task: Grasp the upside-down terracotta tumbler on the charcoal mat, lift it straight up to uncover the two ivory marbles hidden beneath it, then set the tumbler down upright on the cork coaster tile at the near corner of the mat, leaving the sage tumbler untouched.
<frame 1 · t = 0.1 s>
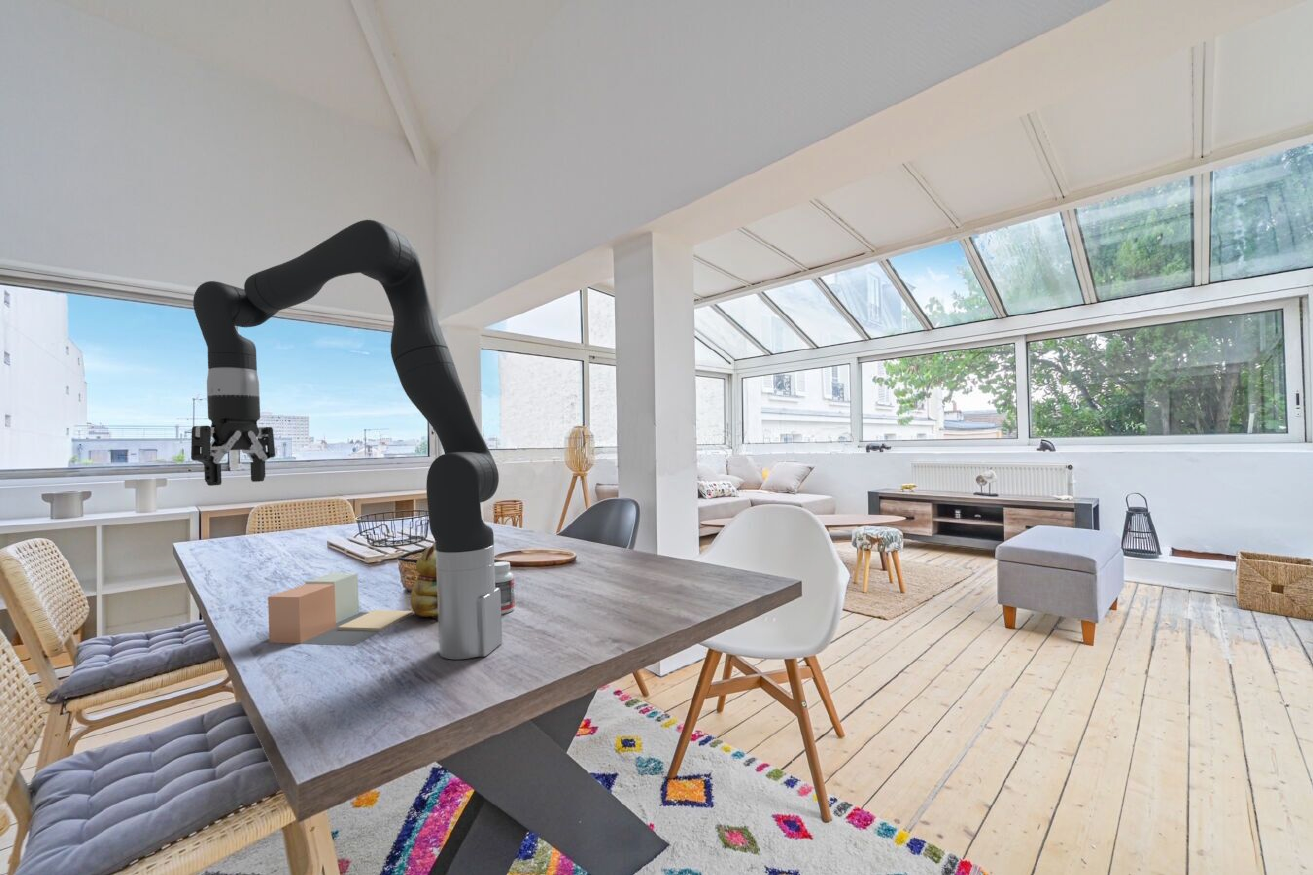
hand: (237, 483, 98), 29 cm above the table, fingers open, 8 cm apart
mat: (342, 629, 102), on the table
tumbler sage: (333, 617, 108), resting on mat
marble 3: (333, 610, 108), in the tumbler sage, touching mat
pill bottle: (501, 611, 110), on the table
decorative figurine: (432, 616, 109), on the table
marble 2: (312, 630, 101), resting on mat
tumbler terracotta: (304, 634, 99), resting on mat
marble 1: (295, 638, 97), resting on mat
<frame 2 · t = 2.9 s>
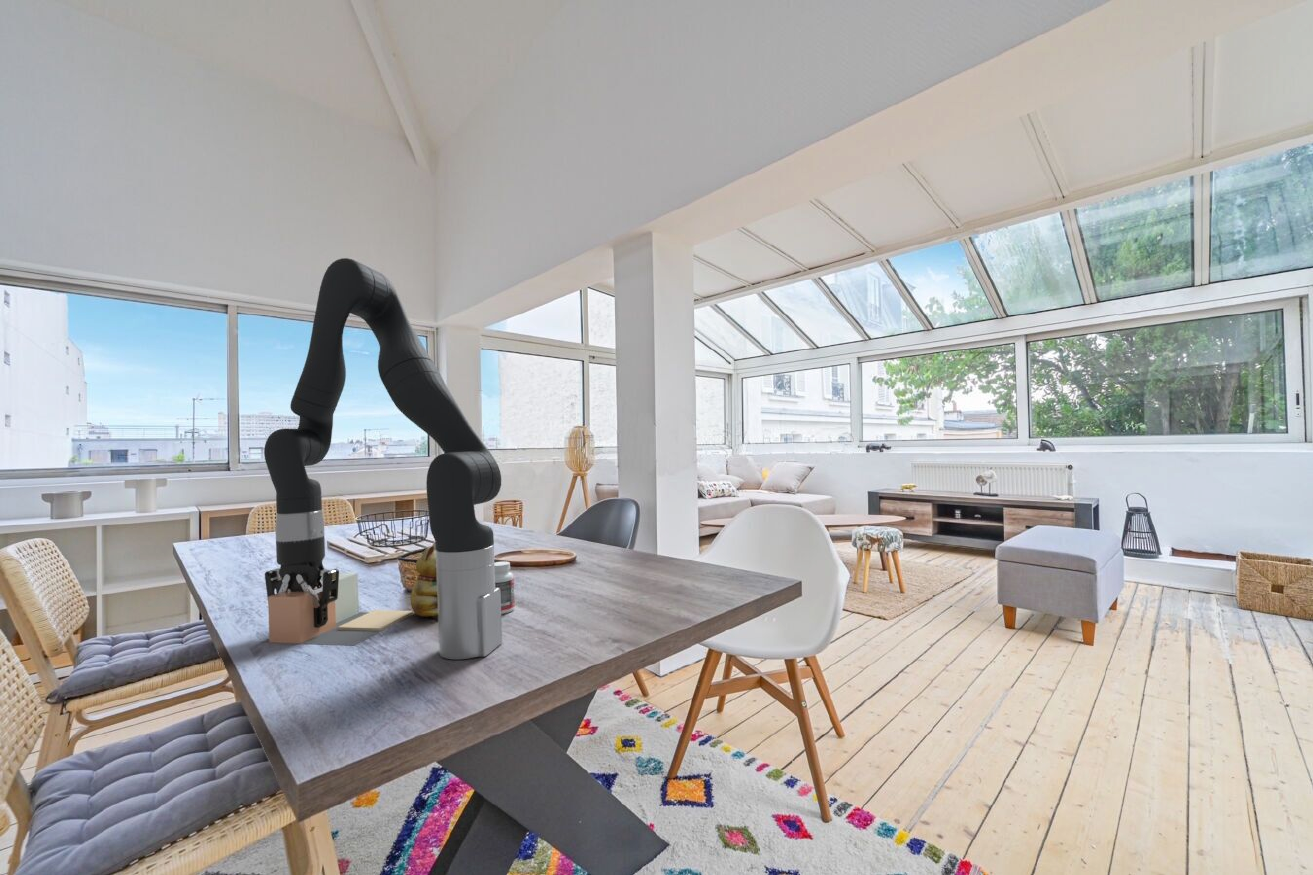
hand: (303, 625, 99), 2 cm above the table, fingers closed on tumbler terracotta, 6 cm apart
tumbler terracotta: (304, 634, 99), resting on mat, touching gripper
everything else where it was.
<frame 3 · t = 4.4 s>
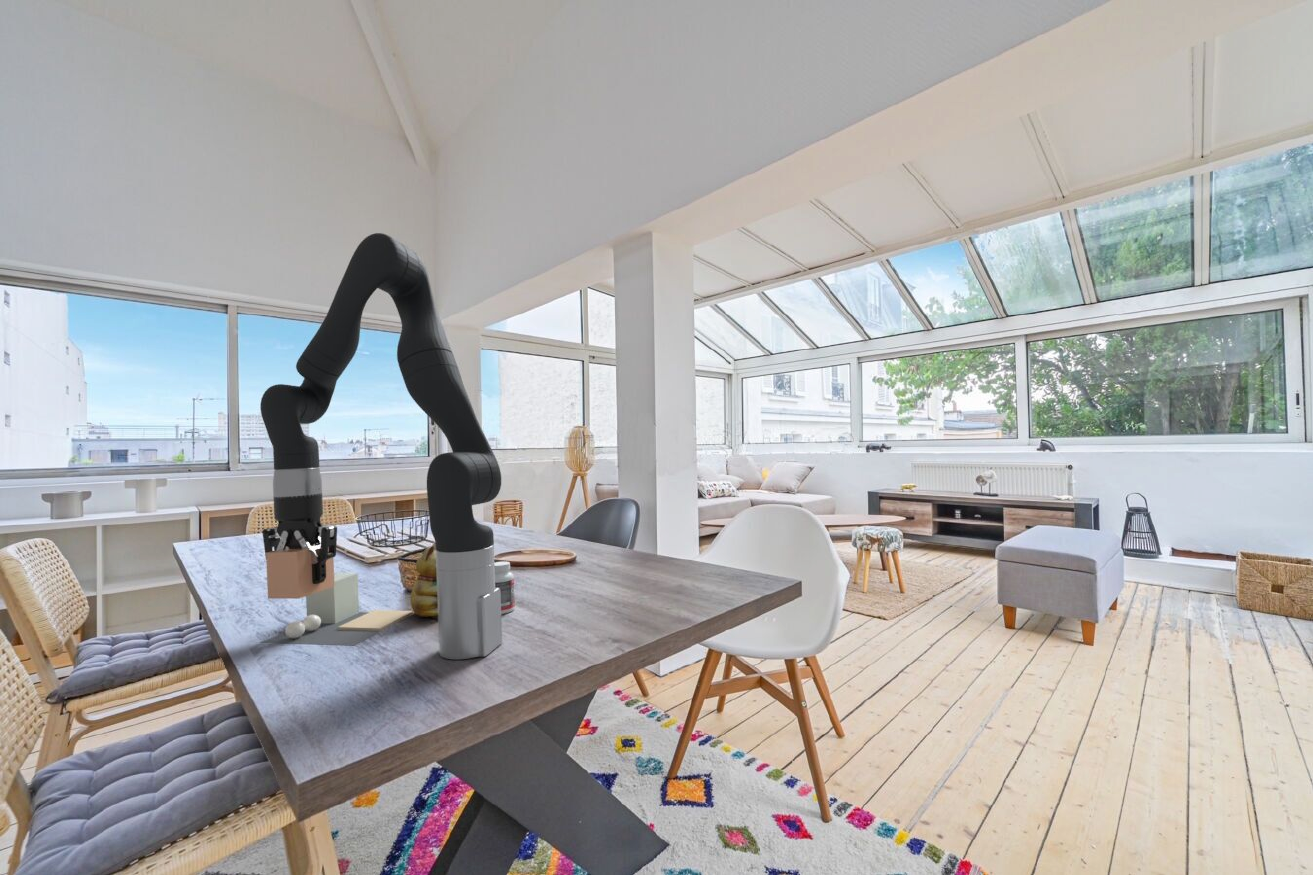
hand: (302, 582, 99), 10 cm above the table, fingers closed on tumbler terracotta, 6 cm apart
tumbler terracotta: (302, 592, 99), point 8 cm above the table, touching gripper
everything else where it was.
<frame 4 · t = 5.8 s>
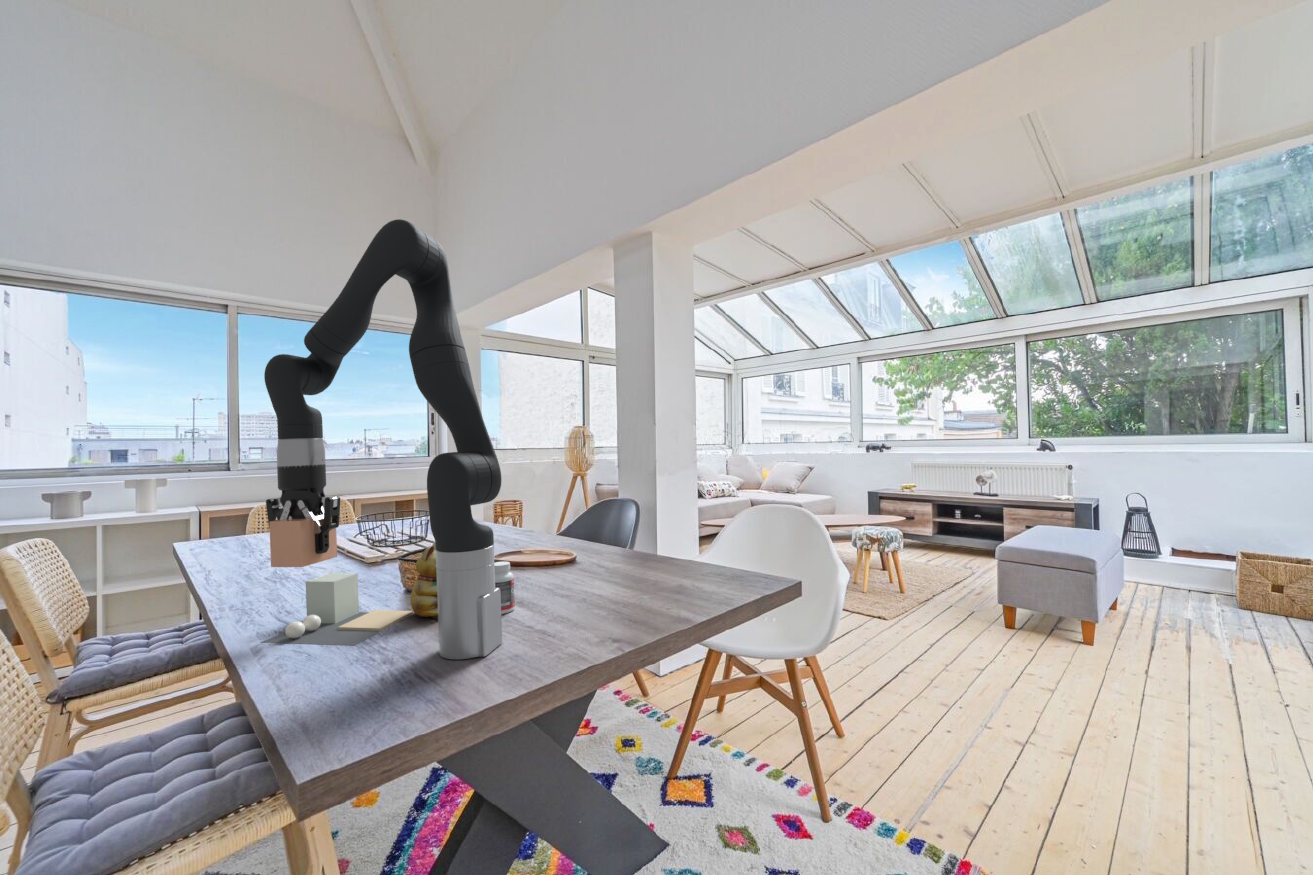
hand: (305, 553, 99), 15 cm above the table, fingers closed on tumbler terracotta, 6 cm apart
tumbler terracotta: (305, 561, 99), point 14 cm above the table, touching gripper
everything else where it was.
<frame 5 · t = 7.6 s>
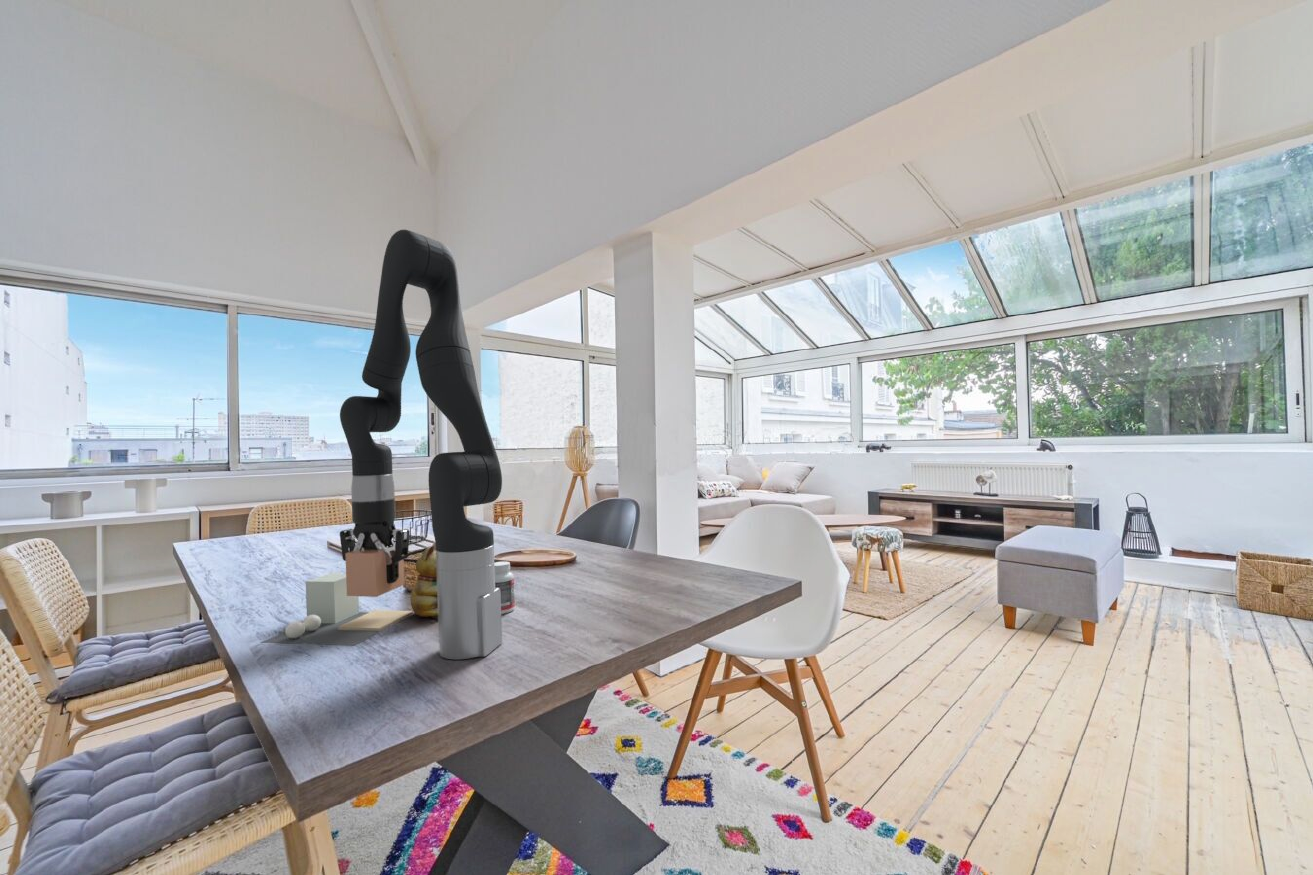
hand: (376, 581, 105), 8 cm above the table, fingers closed on tumbler terracotta, 6 cm apart
tumbler terracotta: (376, 590, 105), point 6 cm above the table, touching gripper
everything else where it was.
when the fingers open (4 cm above the table, at t = 8.8 s): tumbler terracotta drops 1 cm, resting on mat.
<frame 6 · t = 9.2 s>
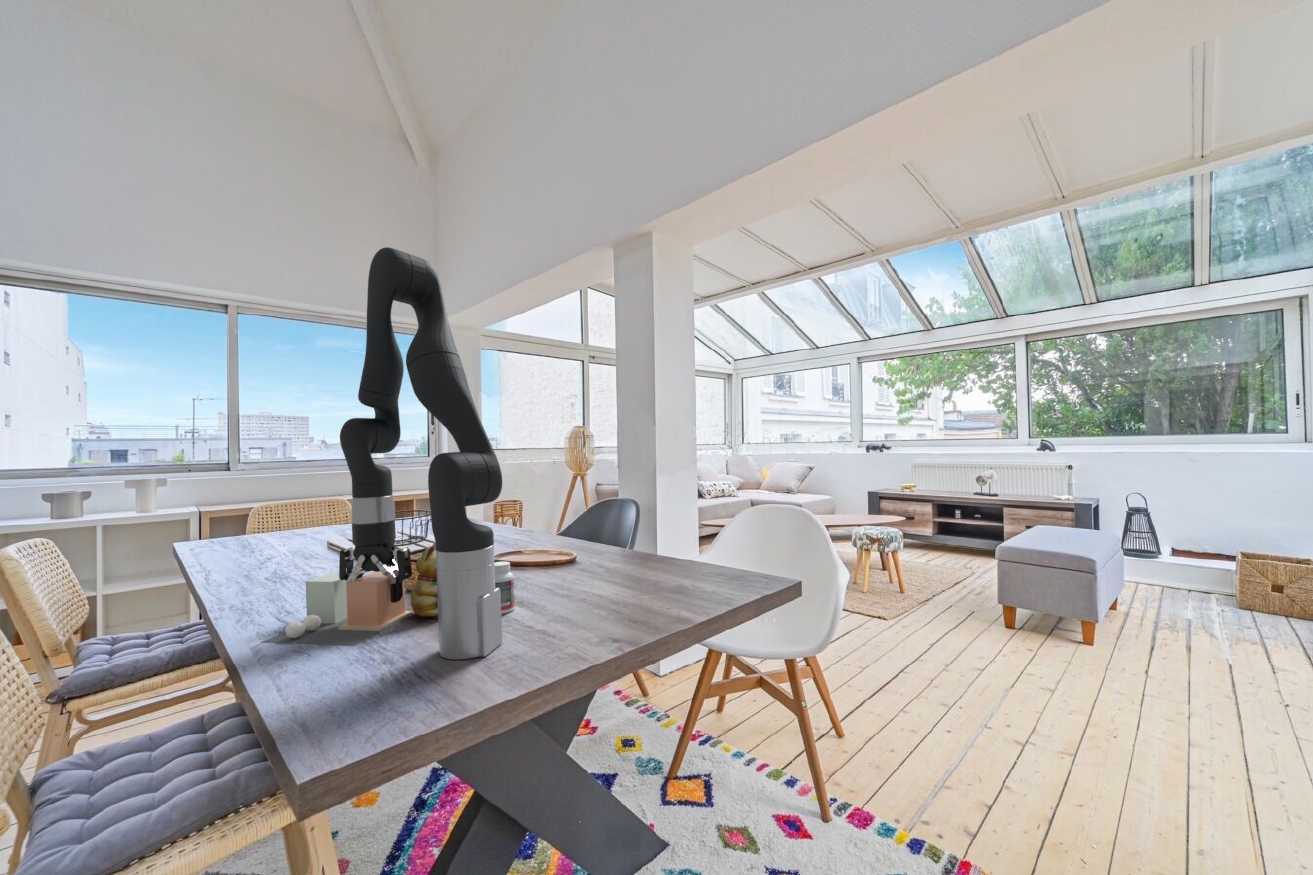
hand: (376, 601, 105), 4 cm above the table, fingers open, 8 cm apart
tumbler terracotta: (377, 618, 105), point 1 cm above the table, touching mat
everything else where it was.
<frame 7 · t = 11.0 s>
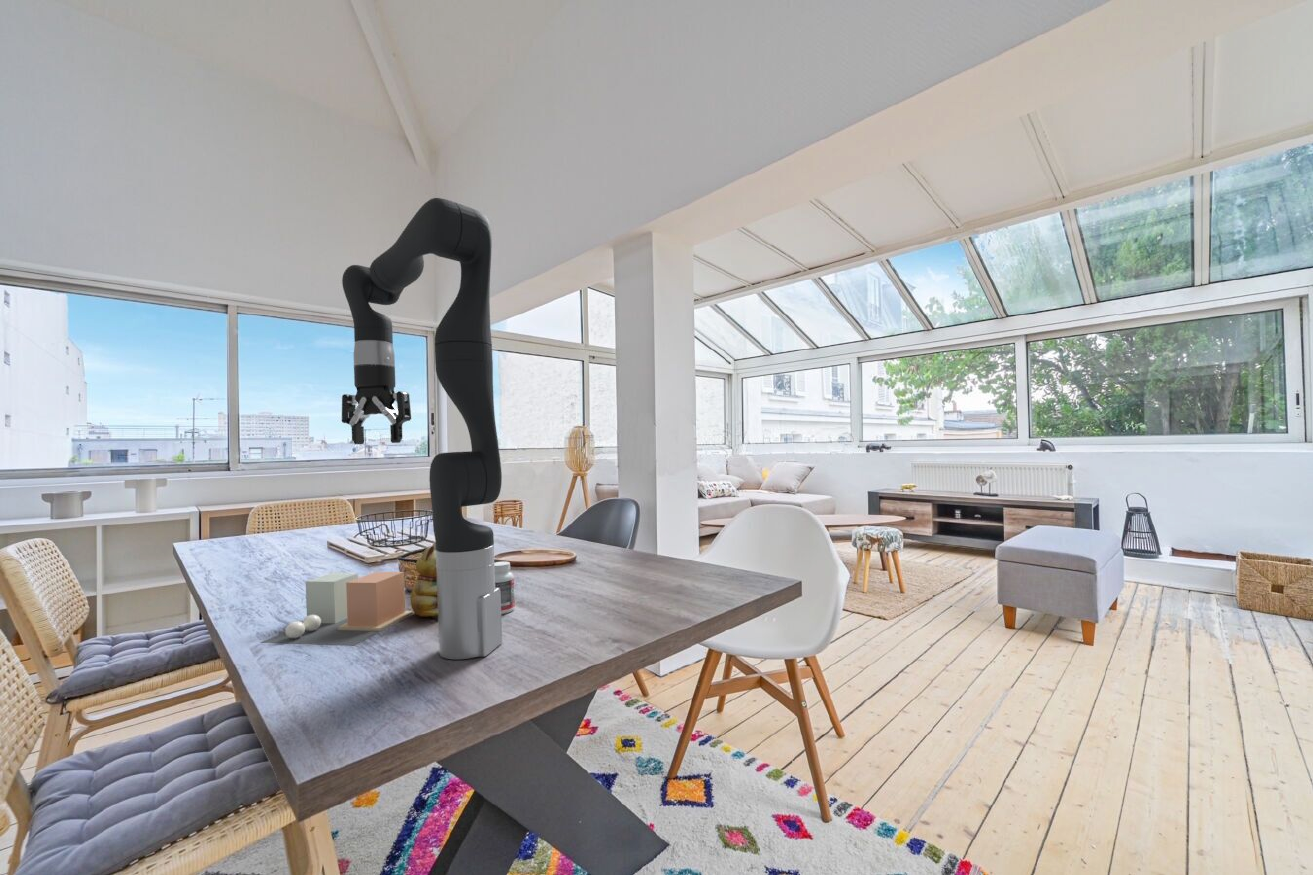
hand: (377, 443, 110), 35 cm above the table, fingers open, 8 cm apart
nothing on the table moved.
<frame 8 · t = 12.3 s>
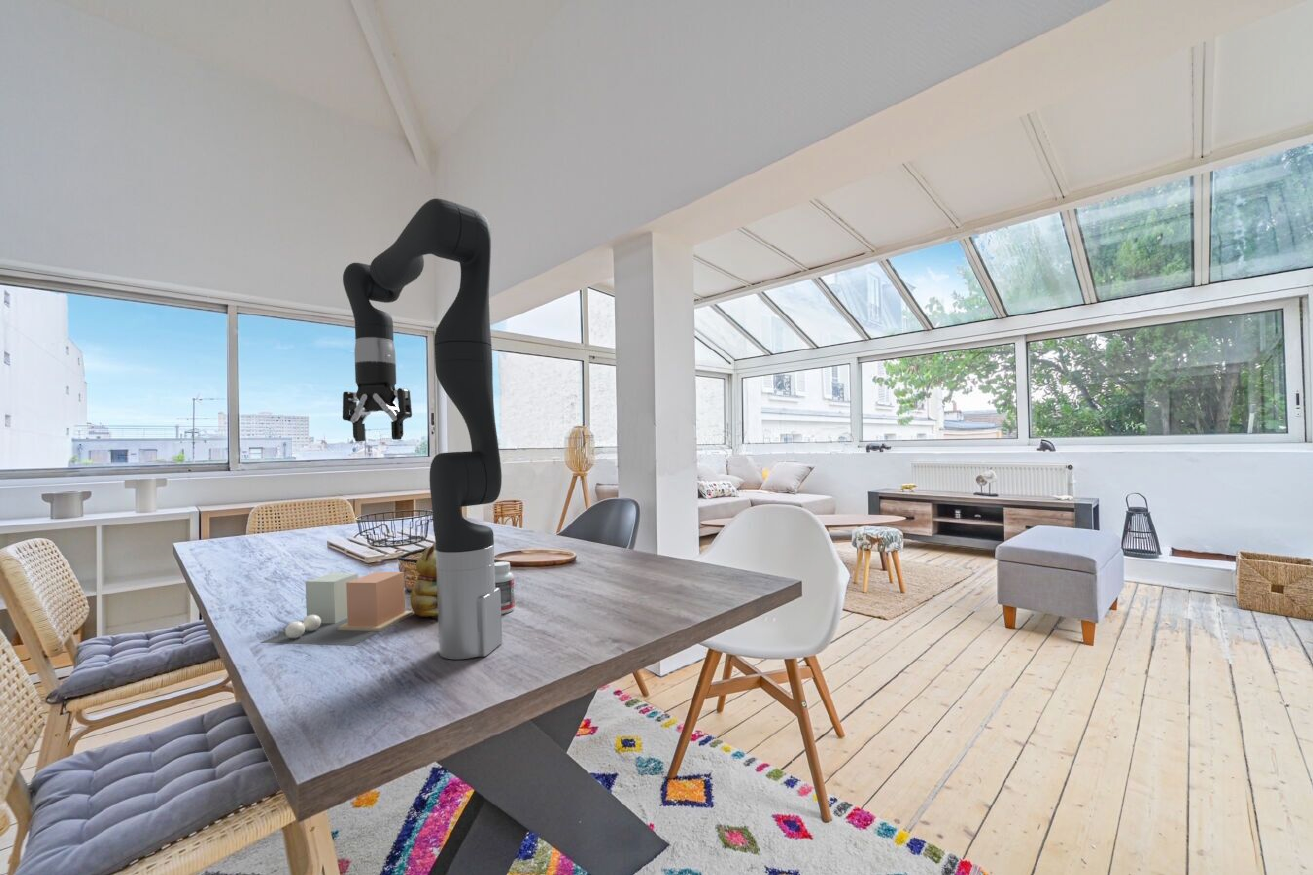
hand: (378, 440, 111), 36 cm above the table, fingers open, 8 cm apart
nothing on the table moved.
at the end: tumbler terracotta inside the target area on the mat (0.1 cm from its centre), point 0.9 cm above the mat's base; tumbler terracotta tilted 0°; the gripper is holding nothing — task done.
